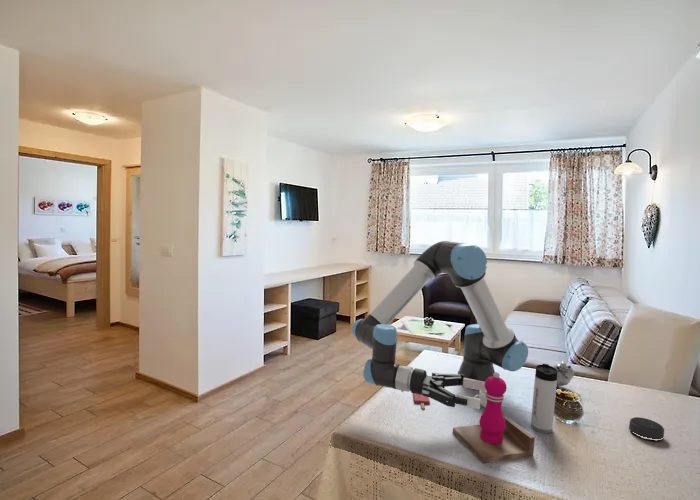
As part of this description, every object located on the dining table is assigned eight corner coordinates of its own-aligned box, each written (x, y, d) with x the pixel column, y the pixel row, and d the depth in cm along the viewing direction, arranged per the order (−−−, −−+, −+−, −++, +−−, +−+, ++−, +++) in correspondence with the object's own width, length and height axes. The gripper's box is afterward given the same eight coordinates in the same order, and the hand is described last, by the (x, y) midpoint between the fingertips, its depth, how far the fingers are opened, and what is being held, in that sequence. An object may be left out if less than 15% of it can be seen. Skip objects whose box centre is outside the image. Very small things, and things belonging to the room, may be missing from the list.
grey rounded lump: (575, 386, 165) (572, 356, 165) (576, 394, 156) (572, 363, 156) (548, 384, 169) (544, 356, 170) (547, 392, 161) (543, 362, 161)
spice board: (497, 427, 129) (499, 410, 128) (533, 456, 114) (534, 437, 113) (452, 432, 124) (453, 414, 124) (483, 463, 109) (484, 443, 109)
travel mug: (550, 425, 132) (556, 365, 130) (553, 435, 126) (559, 372, 124) (529, 421, 134) (534, 362, 132) (531, 430, 128) (537, 368, 126)
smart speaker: (646, 444, 123) (648, 431, 123) (621, 428, 132) (623, 417, 132) (670, 442, 125) (672, 429, 125) (644, 427, 134) (645, 415, 134)
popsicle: (415, 405, 139) (412, 387, 154) (415, 410, 139) (412, 391, 154) (431, 407, 138) (426, 388, 153) (431, 411, 138) (426, 392, 153)
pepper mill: (474, 432, 122) (479, 367, 121) (497, 432, 123) (502, 367, 121) (484, 445, 115) (489, 377, 113) (509, 445, 116) (514, 377, 114)
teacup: (495, 402, 147) (497, 388, 147) (505, 412, 139) (507, 397, 139) (469, 402, 146) (470, 387, 146) (477, 412, 138) (479, 397, 138)
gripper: (421, 378, 139) (485, 391, 131) (399, 407, 116) (476, 426, 108) (422, 356, 139) (487, 368, 130) (401, 382, 116) (478, 398, 107)
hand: (482, 394), depth 119 cm, fingers open, 13 cm apart
